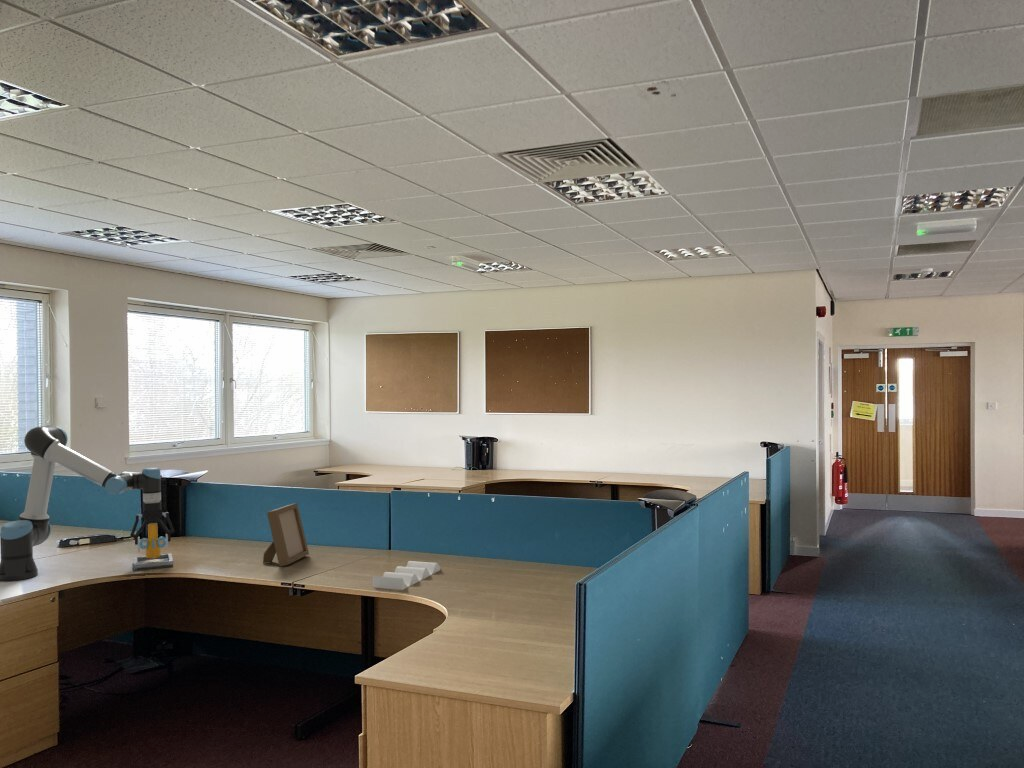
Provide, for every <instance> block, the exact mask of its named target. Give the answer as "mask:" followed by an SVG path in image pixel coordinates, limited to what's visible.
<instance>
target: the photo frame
mask: <svg viewBox="0 0 1024 768" xmlns="http://www.w3.org/2000/svg"><path fill="white" fill-rule="evenodd" d="M266 515H267V519H268V523H269V527H270V533H271V537H272V540H273V541H272V542H271V543H270V545H269V546H268V547H267V549H266V550H265V551H264V553H263V556H262V563H263V564H267V563H273V560H274V558H275V556H276V557H277V563H278V566H279V567H283V566H288V565H291V564H292V563H294V562H296V561H298V560H300V559H302V558H304V557H307V556H308V555H310V553H309V547H308V544H307V543H308V542H307V540H306V535H305V531H304V527H303V522H302V519H301V514H300V509H299V505H298V503H297V502H295V503H292V504H291V503H290V504H287V505H285V506H282V507H279V508H275V509H273V510H270V511H267V512H266Z"/></svg>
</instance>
